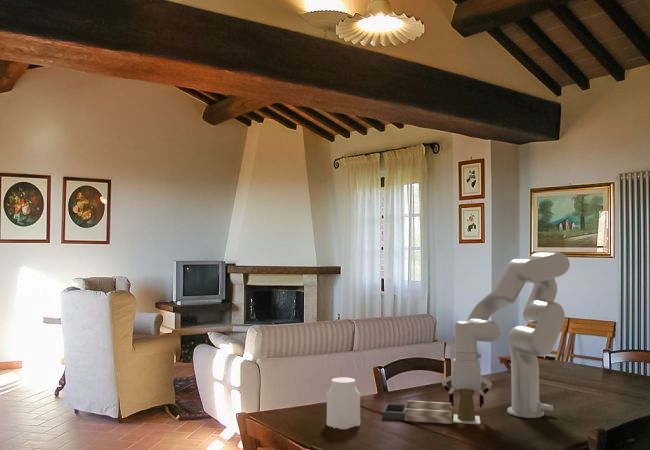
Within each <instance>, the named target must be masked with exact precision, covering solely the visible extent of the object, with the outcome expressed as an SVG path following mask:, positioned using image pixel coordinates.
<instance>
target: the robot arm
mask: <svg viewBox="0 0 650 450" xmlns="http://www.w3.org/2000/svg"><path fill="white" fill-rule="evenodd" d="M570 263H571V262H570V260H569V257H568V256H567V255H566V254H564V253H562V252H554V251H546V252H545V251H542V252H541V251H540V252H535V253H532V254H531V255H530V256H529V258H514V259H512V260H511V261H509V263H508V264H507V265H506V267H505V269H504V270H503V272H502V274H501V276H499V277H500V278H499V279H498V281H497V283H496V284H495V286H494V288H493V289H492V291H491V292H489V294H487V295H486V296H485V297H484V298H483V299H481V300H480V301H478V303H476V305H475V306H474V307H473V308H472V310H471V313H470V314H469V316H468V317H467V319H466V320H458V321H456V322H455V325H454V358H453V359H452V363H451V364H452V365H451V375H449V376H447V377H445V378H442V379H441V380H440V383H441V385H442V387H443V389H444V390H445V391H447V393H448V397H449V398H448V399H449V401H448V403H451V406H452V407H453V406H454V400H455V399H454V391H455V390H459V389H470V390H474V391H477V392H478V393H479V395H478V398H479V401H478V402H479V408H481V409H482V408H483V406H484V404H485V401H484V400H485V395H486V394H487V393H489V391H490V389H491V387H492V385H493V383H492V382H491V381H490V380H488V379H486V378H484V377H482V372H481V371H482V370H481V364H480V360H479V359H480V358H482V353H479V352H478V342H485V343H492V342H495V341H497V340H498V339H499V338H500V336H501V327H500V326H499V324H497V323H496V322H495V321H493V320H489V319H490V318H491V317H492V316H493V315H494V314H495V313H497V312H498V311H501V310H502V309H503V310H504V309H505V308H508V307H510V306H512V305H513V304H515V302H516V300H517V299H518V297H519V294H520V293H521V291H522V290H523V288H524V286H525V284H526V283H531V284H533V287H532V289H531V292H530V294H529V297H528V299H527V301H526V304H525V305H524V308H523V311H522V317H523V320H524V321H525V322H526V323H527V324H529V325H532V326H527V325H517V326H514V327H513V328H512V329H511V330H510V331H509V333H508V336H507V339H508V340H507V341H508V348H509V354H510V362H511V363H510V365H511V366H510V367H511V370H510V372H511V374H510V375H511V377H510V378H511V381H510V382H511V406H509V407H508V408H507V413H508V414H509V415H512V416H515V417H518V418H526V419H536V418H541V417H543V416H545V411H551V412H552V411H554V405H553V404H548V403H542V402H541V401H540V379H539V378H540V369H539V367H540V364H539V360H538V357H546V356H548V355H550V353H551V352H552V351H553V350H554V347H555V345H556V343H557V340H558V338H559V336H560V334H561V331H562V329H563V327H564V324H565V319H566V318H565V317H566V316H565V315H566V314H565V309H564V307H562V306H561V304H560V303H559V302H556V301H555V299H556V297H557V294H558V284H557V282H556V278H558V277H562V276H563V275H565V274H566V273H567V272H568V271H569V269H570ZM533 326H535V327H533ZM450 381H451V387H449V386H448V384H447V382H448V383H449V382H450ZM482 383H483V384H486V386H485V388H484V389H482Z"/></svg>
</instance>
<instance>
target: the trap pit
mask: <svg viewBox="0 0 650 450" xmlns="http://www.w3.org/2000/svg"><path fill="white" fill-rule="evenodd" d="M405 408H408V405H407V403H406V404H403V403H402V404H400V403H385V404H384V407H383V409H382V412H381V419H382V420H387V421H388V420H390V421H404V422H406V421H405Z"/></svg>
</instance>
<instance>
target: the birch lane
mask: <svg viewBox="0 0 650 450" xmlns="http://www.w3.org/2000/svg"><path fill="white" fill-rule="evenodd" d="M406 405H408V408H405V421H404V422H420V423H421V422H422V423H433V424H435V423H437V424H447V425H449V424H453V417H452V416H453V406H451V403H449V402H439V401H422V400H421V401H420V400H407V403H406Z"/></svg>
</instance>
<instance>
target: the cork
mask: <svg viewBox="0 0 650 450" xmlns="http://www.w3.org/2000/svg"><path fill="white" fill-rule="evenodd" d="M458 394H459V396H460V397H459V405H458V413H457V415H458V419H460V420H463V421H474V420H475V416H476V414H475V408H474V407H475V406H474V398H473V396H474V395H475V390H470V389H458Z"/></svg>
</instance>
